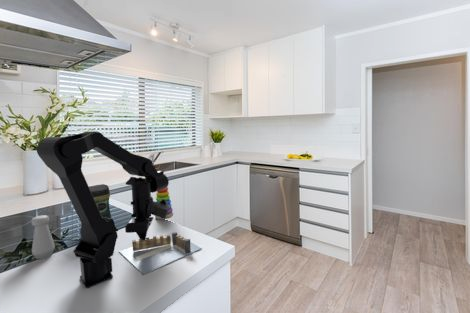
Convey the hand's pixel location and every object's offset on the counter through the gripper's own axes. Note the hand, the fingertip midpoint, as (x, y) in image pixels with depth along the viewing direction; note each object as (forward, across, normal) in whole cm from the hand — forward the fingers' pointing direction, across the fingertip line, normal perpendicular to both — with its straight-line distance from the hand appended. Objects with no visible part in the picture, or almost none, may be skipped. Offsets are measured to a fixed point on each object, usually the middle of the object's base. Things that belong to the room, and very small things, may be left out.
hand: (143, 241), depth 82 cm
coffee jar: (+3, +17, +20) cm, 27 cm away
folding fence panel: (+2, -1, -3) cm, 3 cm away
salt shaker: (+3, +1, +31) cm, 31 cm away
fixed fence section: (+2, -2, -12) cm, 13 cm away
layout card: (+2, -2, -6) cm, 7 cm away
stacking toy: (+3, +29, -3) cm, 29 cm away
